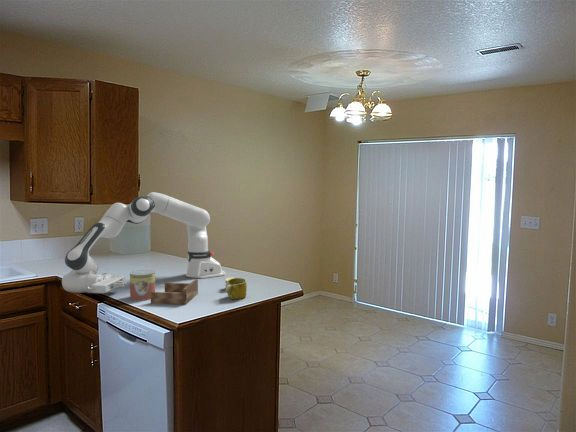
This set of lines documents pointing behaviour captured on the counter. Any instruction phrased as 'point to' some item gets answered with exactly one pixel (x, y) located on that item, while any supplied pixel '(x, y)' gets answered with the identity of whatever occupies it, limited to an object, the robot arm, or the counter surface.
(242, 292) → the mug
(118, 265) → the counter surface
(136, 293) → the canned food
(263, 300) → the counter surface
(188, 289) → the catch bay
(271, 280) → the counter surface
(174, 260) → the counter surface
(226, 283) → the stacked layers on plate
